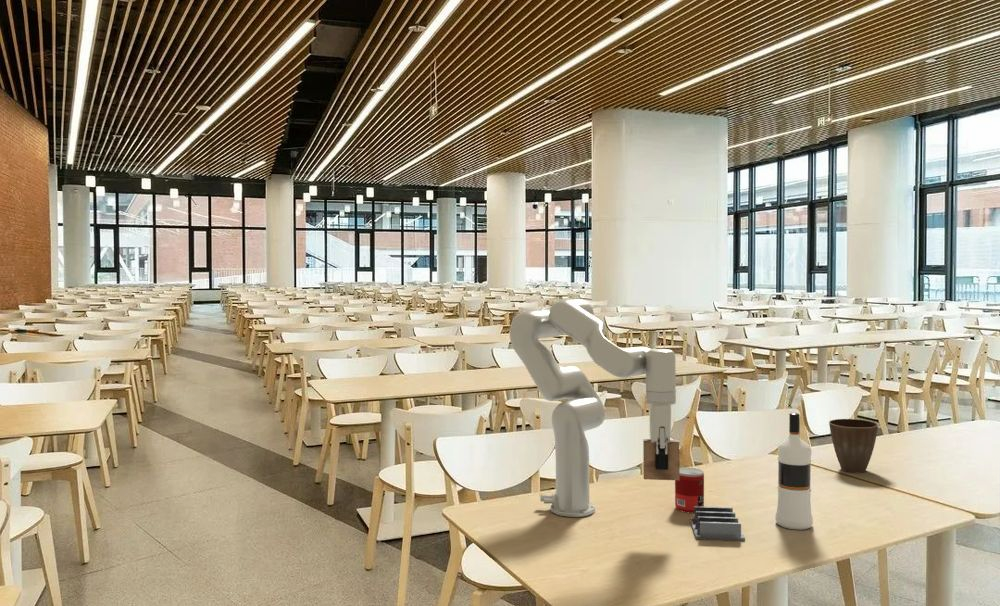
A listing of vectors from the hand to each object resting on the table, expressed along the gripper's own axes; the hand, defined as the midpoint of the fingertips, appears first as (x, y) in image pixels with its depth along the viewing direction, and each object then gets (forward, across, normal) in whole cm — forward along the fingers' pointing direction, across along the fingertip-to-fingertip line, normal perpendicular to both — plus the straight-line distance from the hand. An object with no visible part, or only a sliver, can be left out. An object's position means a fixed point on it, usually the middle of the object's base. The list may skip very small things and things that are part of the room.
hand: (661, 467), depth 196 cm
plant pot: (+18, -70, +67) cm, 98 cm away
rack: (+17, -3, +14) cm, 23 cm away
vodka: (+18, -10, +35) cm, 41 cm away
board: (+3, 0, 0) cm, 3 cm away
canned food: (+17, -21, +9) cm, 29 cm away
